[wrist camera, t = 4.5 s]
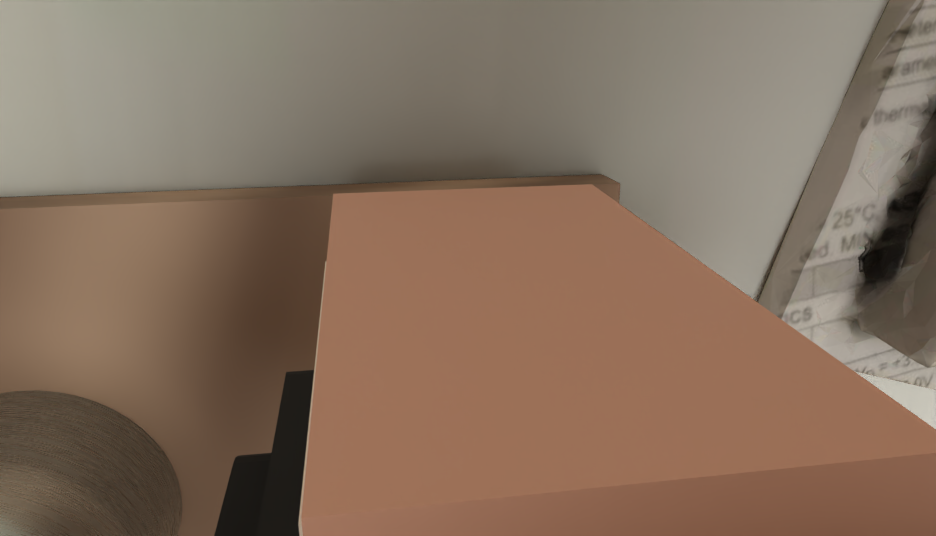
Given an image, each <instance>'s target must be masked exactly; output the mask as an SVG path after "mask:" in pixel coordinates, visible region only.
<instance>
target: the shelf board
mask: <svg viewBox="0 0 936 536" xmlns="http://www.w3.org/2000/svg"><path fill="white" fill-rule="evenodd" d="M584 184H592V185H594V186H595V187H596V188H598V189H599V190H601V191H602V192H603V193H605V194H606V195H608V196H609V197H610V198H612V199H613V200H615V201H616V202H617V203H619V195H620V183H618V182H616V181H614V180H612V179H610V178H608V177H606V176H604V175H602V174H599V175H573V176H547V177H521V178H495V179H469V180H443V181H417V182H391V183H365V184H339V185H313V186H287V187H261V188H235V189H209V190H183V191H157V192H131V193H105V194H79V195H53V196H27V197H1V198H0V393H6V392H14V391H36V390H39V391H51V392H60V393H65V394H70V395H75V396H79V397H82V398H86V399H89V400H92V401H95V402H98V403H100V404H102V405H105V406H107V407H109V408H111V409H114V410H115V411H117V412H119V413H120V414H122V415H124V416H126V417H127V418H129V419H130V420H132V421H133V422H134V423H136V424H137V425H138V426H140V427H141V428H142V429H143V430H144V431H146V432H147V433H148V434H149V435H150V436H151V437H152V438H153V439H154V440H155V441H156V443H157V444H158V445H159V446H160V448H161V449H162V450H163V451H164V453H165V454H166V456H167V458H168V459H169V461H170V463H171V465H172V466H173V469H174V471H175V474H176V476H177V479H178V482H179V486H180V491H181V496H182V516H181V524H180V528H179V532H178V535H177V536H214V534H215V531H216V527H217V523H218V519H219V515H220V512H221V508H222V504H223V500H224V496H225V492H226V489H227V485H228V481H229V477H230V473H231V470H232V466H233V462H234V460H235V457H237V456H240V455H251V454H262V453H271V452H272V447H273V441H274V436H275V430H276V425H277V419H278V414H279V408H280V403H281V397H282V392H283V386H284V381H285V375H286V372H292V371H306V370H314V367H315V358H316V348H317V338H318V328H319V319H320V309H321V299H322V290H323V280H324V270H325V261H327V251H328V241H329V231H330V221H331V211H332V201H333V194H338V193H365V192H393V191H420V190H447V189H474V188H502V187H529V186H556V185H584Z"/></svg>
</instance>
